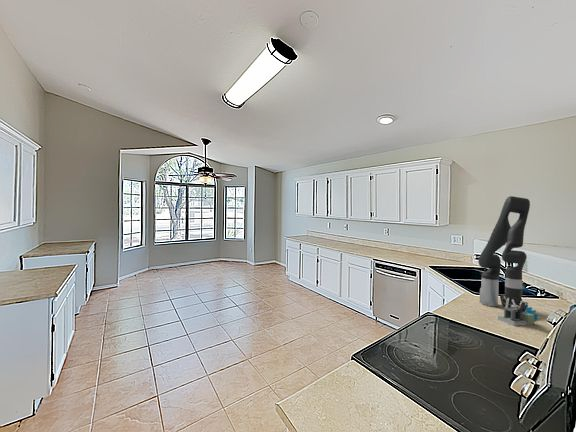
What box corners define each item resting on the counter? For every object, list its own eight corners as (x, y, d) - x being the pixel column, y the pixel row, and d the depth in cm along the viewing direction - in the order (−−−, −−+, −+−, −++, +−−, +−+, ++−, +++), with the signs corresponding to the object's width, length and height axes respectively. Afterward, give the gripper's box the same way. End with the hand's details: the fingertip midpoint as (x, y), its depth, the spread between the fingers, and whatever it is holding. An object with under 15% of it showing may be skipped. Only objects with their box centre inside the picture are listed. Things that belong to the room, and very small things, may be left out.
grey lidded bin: (513, 315, 159) (513, 306, 159) (522, 318, 154) (522, 309, 154) (503, 316, 157) (503, 307, 157) (512, 319, 153) (512, 310, 152)
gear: (529, 318, 156) (517, 302, 163) (520, 323, 160) (509, 306, 167) (543, 319, 159) (531, 303, 166) (534, 324, 163) (523, 308, 170)
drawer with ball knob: (497, 319, 160) (497, 308, 159) (515, 317, 163) (515, 307, 163) (514, 326, 150) (515, 315, 150) (534, 324, 153) (534, 313, 153)
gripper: (532, 289, 150) (532, 321, 150) (506, 282, 163) (505, 312, 164) (521, 290, 148) (521, 322, 148) (495, 283, 162) (495, 313, 162)
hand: (512, 316), depth 156 cm, fingers closed on grey lidded bin, 4 cm apart
